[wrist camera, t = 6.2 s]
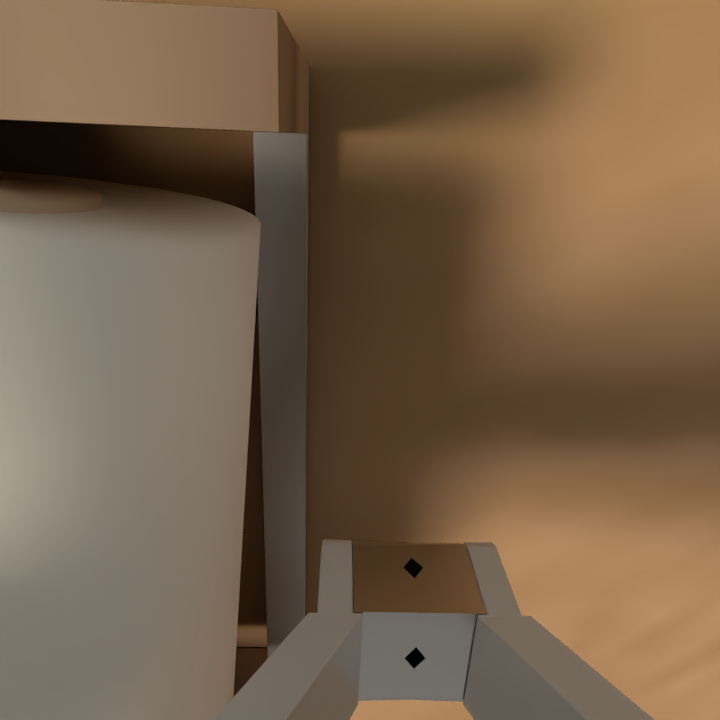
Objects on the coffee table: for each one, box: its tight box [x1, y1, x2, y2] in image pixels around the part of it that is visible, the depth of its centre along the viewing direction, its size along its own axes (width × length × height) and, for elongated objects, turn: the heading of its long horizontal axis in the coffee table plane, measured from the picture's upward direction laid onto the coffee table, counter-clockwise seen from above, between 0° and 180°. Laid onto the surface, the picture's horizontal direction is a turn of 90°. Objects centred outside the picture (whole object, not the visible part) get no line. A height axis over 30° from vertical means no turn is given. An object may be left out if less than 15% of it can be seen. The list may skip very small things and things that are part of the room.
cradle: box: [0, 0, 309, 697], centre depth 11 cm, size 10×16×6 cm, turn 178°
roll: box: [0, 172, 261, 720], centre depth 10 cm, size 12×7×7 cm, turn 173°
